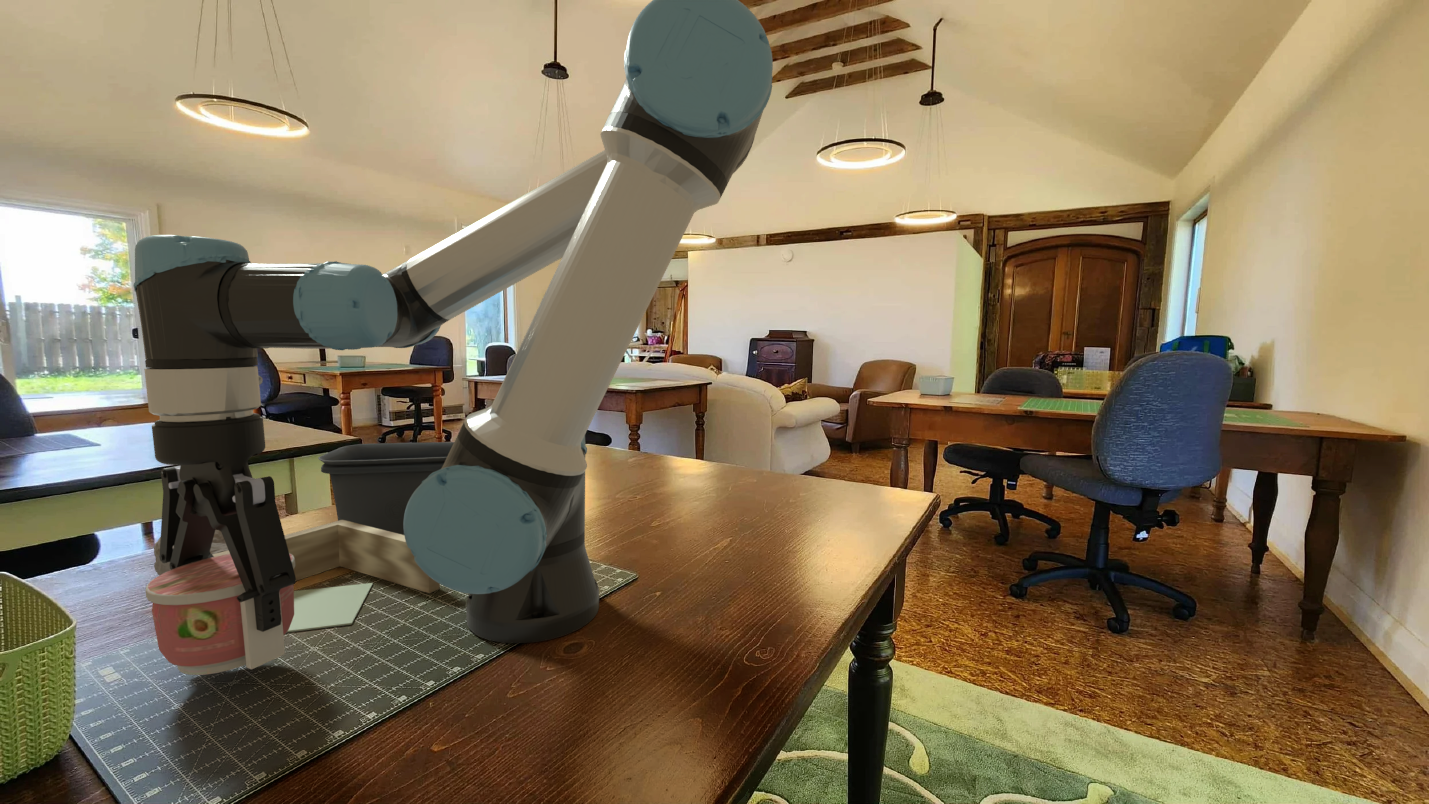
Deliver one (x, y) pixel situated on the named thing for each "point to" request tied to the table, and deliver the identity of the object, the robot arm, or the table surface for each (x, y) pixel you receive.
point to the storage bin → (380, 479)
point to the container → (204, 615)
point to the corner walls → (356, 553)
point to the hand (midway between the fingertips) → (232, 646)
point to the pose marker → (327, 606)
